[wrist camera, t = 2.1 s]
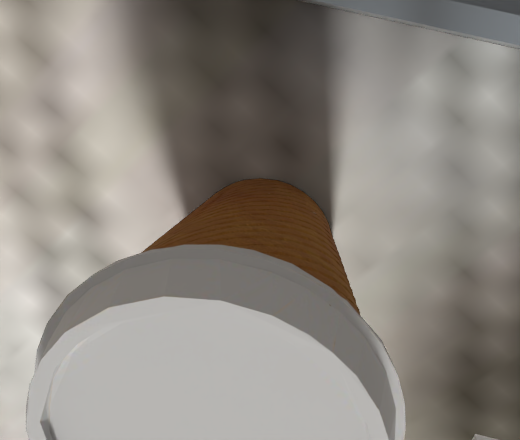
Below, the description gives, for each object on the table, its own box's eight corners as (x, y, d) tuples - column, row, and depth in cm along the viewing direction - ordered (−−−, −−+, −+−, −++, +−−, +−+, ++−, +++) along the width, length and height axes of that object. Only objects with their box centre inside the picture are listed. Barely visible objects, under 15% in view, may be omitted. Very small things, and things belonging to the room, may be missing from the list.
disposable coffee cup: (199, 105, 21) (52, 200, 9) (409, 195, 21) (503, 389, 10) (136, 287, 24) (-24, 509, 13) (315, 361, 25) (306, 639, 13)
